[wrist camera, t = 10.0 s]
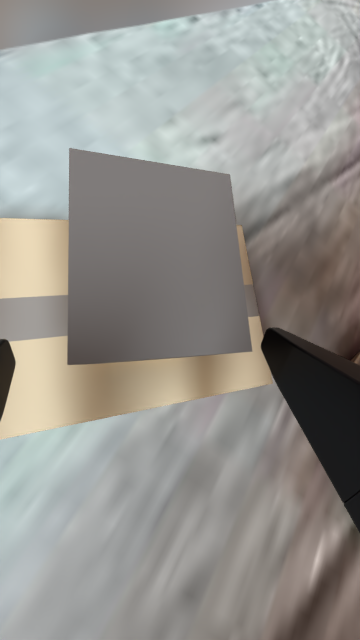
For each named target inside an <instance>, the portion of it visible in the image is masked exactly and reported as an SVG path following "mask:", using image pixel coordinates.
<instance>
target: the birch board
mask: <svg viewBox="0 0 360 640" xmlns="http://www.w3.org/2000/svg"><path fill="white" fill-rule="evenodd" d="M236 226H237V234H238V242H239V250H240V258H241V265H242V273H243V281H244V289H245V297H246V305H247V313H248V321H249V328H250V336H251V344H252V352H241V353H230V354H218V355H207V356H195V357H184V358H171V359H157V360H144V361H130V362H117V363H104V364H83V365H67V344H68V245H69V220H48V219H14V218H0V339H6V340H8V341H9V343H10V346H11V349H12V351H13V354H14V357H15V361H16V365H15V370H14V374H13V378H12V382H11V386H10V390H9V394H8V398H7V402H6V406H5V409H4V413H3V415H2V418H1V421H0V439H5V438H10V437H15V436H20V435H25V434H29V433H34V432H39V431H44V430H49V429H54V428H59V427H63V426H68V425H73V424H78V423H83V422H88V421H93V420H97V419H102V418H107V417H112V416H117V415H122V414H127V413H131V412H136V411H141V410H146V409H151V408H156V407H161V406H166V405H170V404H175V403H180V402H185V401H190V400H195V399H200V398H204V397H209V396H214V395H219V394H224V393H229V392H234V391H238V390H243V389H248V388H253V387H258V386H263V385H268V384H272V383H273V382H272V377H271V372H270V368H269V366H268V364H267V362H266V359H265V357H264V355H263V353H262V350H261V342H262V340H263V332H262V327H261V321H260V316H259V311H258V306H257V301H256V296H255V291H254V286H253V281H252V276H251V271H250V266H249V261H248V255H247V250H246V245H245V240H244V235H243V230H242V225H236Z"/></svg>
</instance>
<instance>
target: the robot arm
mask: <svg viewBox="0 0 360 640" xmlns="http://www.w3.org/2000/svg"><path fill="white" fill-rule="evenodd" d="M261 350H262V353H263V355H264V357H265V359H266V362H267V364H268V366H269V368H270V371H271V373H272V375H273V378H274V380H275V382H276V384H277V386H278V387H279V389H280V391H281V393H282V395H283V396H284V398H285V400H286V402H287V403H288V405H289V407H290V409H291V411H292V412H293V414H294V416H295V418H296V420H297V421H298V423H299V425H300V427H301V428H302V430H303V432H304V434H305V436H306V437H307V439H308V441H309V443H310V445H311V446H312V448H313V450H314V452H315V453H316V455H317V457H318V459H319V461H320V462H321V464H322V466H323V468H324V470H325V471H326V473H327V475H328V477H329V478H330V480H331V482H332V484H333V486H334V487H335V489H336V491H337V493H338V495H339V496H340V498H341V500H342V502H343V503H344V506H345V507H346V509H347V511H348V513H349V515H350V516H351V518H352V520H353V522H354V524H355V525H356V527H357V529H358V531H359V533H360V365H358V364H356V363H354V362H352V361H350V360H347V359H345V358H343V357H341V356H339V355H337V354H334V353H332V352H330V351H328V350H326V349H324V348H321V347H319V346H317V345H315V344H313V343H311V342H308V341H306V340H304V339H302V338H300V337H298V336H296V335H293V334H291V333H289V332H287V331H285V330H283V329H280V328H268V329H267V330H266V332H265V335H264V337H263V340H262V342H261ZM15 365H16V361H15V357H14V354H13V351H12V349H11V346H10V343H9V341H8V340H6V339H0V421H1V418H2V415H3V413H4V409H5V406H6V402H7V398H8V394H9V390H10V386H11V382H12V378H13V374H14V370H15Z"/></svg>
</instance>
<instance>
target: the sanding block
mask: <svg viewBox="0 0 360 640" xmlns="http://www.w3.org/2000/svg"><path fill="white" fill-rule="evenodd" d="M241 352H252V344H251V336H250V328H249V321H248V313H247V305H246V297H245V289H244V281H243V273H242V265H241V258H240V250H239V242H238V234H237V226H236V218H235V210H234V203H233V195H232V187H231V179H230V175H229V174H223V173H217V172H211V171H205V170H199V169H193V168H187V167H181V166H175V165H169V164H163V163H157V162H151V161H145V160H139V159H133V158H127V157H120V156H114V155H108V154H102V153H96V152H90V151H84V150H78V149H72V148H69V245H68V344H67V365H83V364H104V363H117V362H130V361H144V360H157V359H171V358H184V357H195V356H207V355H218V354H230V353H241Z"/></svg>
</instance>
